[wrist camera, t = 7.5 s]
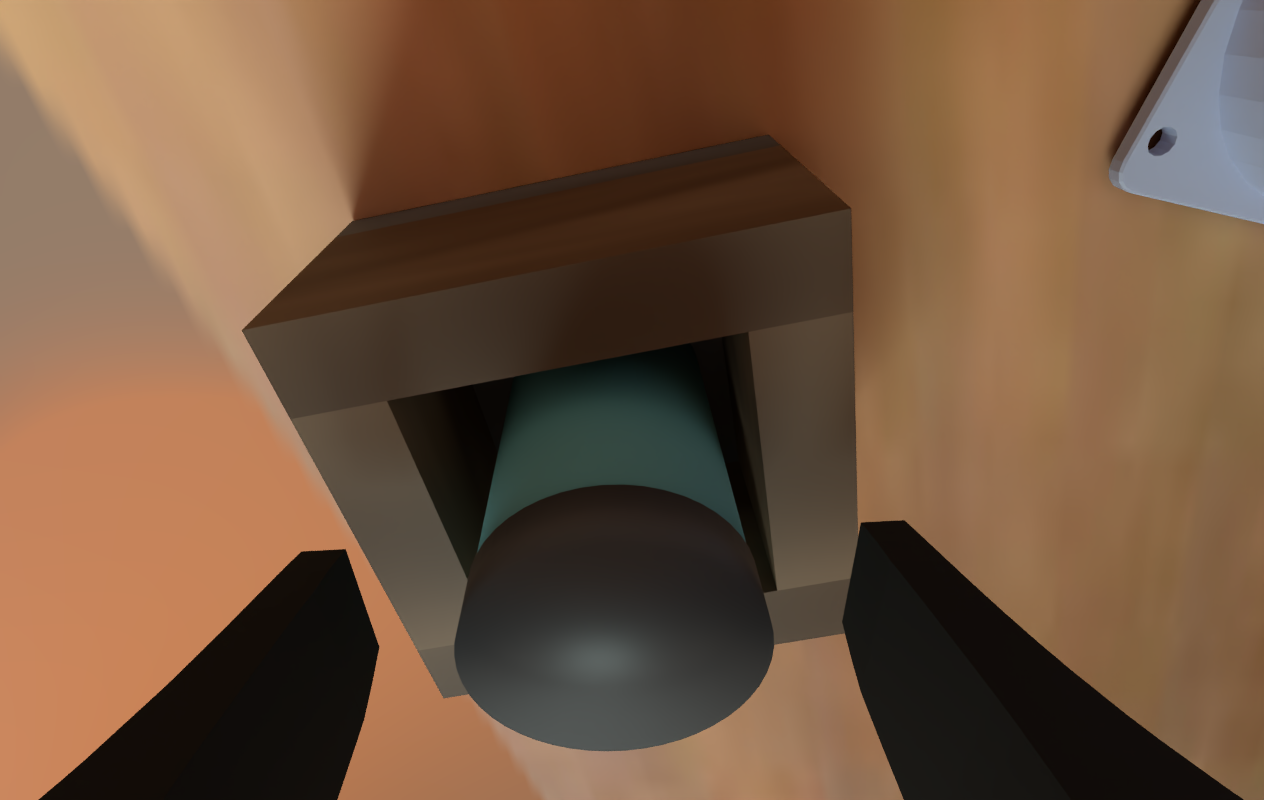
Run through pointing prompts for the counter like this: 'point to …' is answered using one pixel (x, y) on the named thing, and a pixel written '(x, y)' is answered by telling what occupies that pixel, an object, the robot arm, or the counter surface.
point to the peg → (612, 563)
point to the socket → (580, 360)
